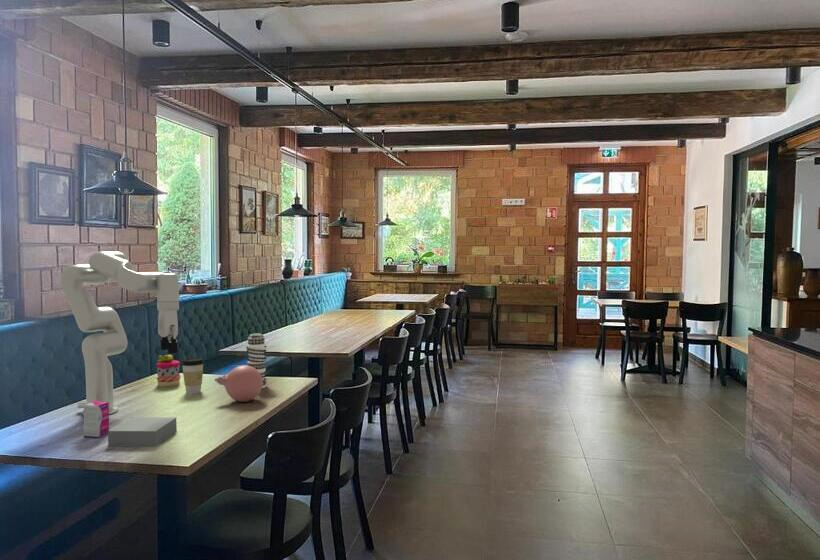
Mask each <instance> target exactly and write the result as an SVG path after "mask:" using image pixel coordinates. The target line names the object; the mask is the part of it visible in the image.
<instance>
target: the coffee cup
mask: <svg viewBox="0 0 820 560" xmlns="http://www.w3.org/2000/svg"><path fill="white" fill-rule="evenodd" d="M204 364H205V361H204V358H201V357H191V358H184V359H182V362H181V363H180V366H181V365H182V375H183V382H184V387H185V393H186V394H187V395H188V394H189V395H194V394H199V393H201V390H202V383H203V377H204V376H203V374H204V369H203V368H204Z"/></svg>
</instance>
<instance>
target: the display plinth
mask: <svg viewBox="0 0 820 560" xmlns="http://www.w3.org/2000/svg"><path fill="white" fill-rule="evenodd" d="M177 432H178V429H177V417H175V416H173V417H158V416H157V417H155V416H154V417H153V416H151V417H149V416H148V417H147V416H146V417H144V416H143V417H142V416H141V417H139V416H138V417H137V416H136V417H135V416H134V417H132V416H131V417H129V418H128V419H126V420H125V421H123V422H121V423H120V424H118V425H116V426H114V427H112V428H109V431H108V434H107V445H108V446H107V447H157V446H158V445H160V444H161V443H162V442H165V440H167V439H168V438H170V436H172V435H174V434H175V433H177Z"/></svg>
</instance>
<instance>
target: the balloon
mask: <svg viewBox="0 0 820 560" xmlns="http://www.w3.org/2000/svg"><path fill="white" fill-rule="evenodd" d="M248 365H249V364H248ZM248 365H247V364H246V365H239V366H236V367H234V368H233V369H231V370H230V372H228V373H227V374H224V375H223V376H218V377H217V378H215V379H214V382H216V383H217V384H219V385H220V386H224V388H225V391H226V393H227V394H228V396H229V397H230V398H231V399H232V400H234V401H236V402H240V403H245V402H251V401H252V400H254V399H256V398H257V397H258V396H259V394H260V393H261V392H262V389H263V388H262V385H263V381H262V376H261V374H260V373H259V371H258V370H257V369H255V368H254V367H251V366H248Z"/></svg>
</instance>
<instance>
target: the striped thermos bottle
mask: <svg viewBox="0 0 820 560" xmlns="http://www.w3.org/2000/svg"><path fill="white" fill-rule="evenodd" d="M265 338H266V336H265V335H263V334H262V333H251V334H249V336H248V337H247V346H246V353H247V354H246V360H247V364H248V366H251V367H254V368H255V369H257V370H258V371H259V373H260V374H261V376H262V381H263V385H262V389H264V388H266V387H267V378H266V377H267V371H266V362H267V361H266V359H267V357H266V356H267V349H266V348H267V345H266V343H265Z"/></svg>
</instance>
